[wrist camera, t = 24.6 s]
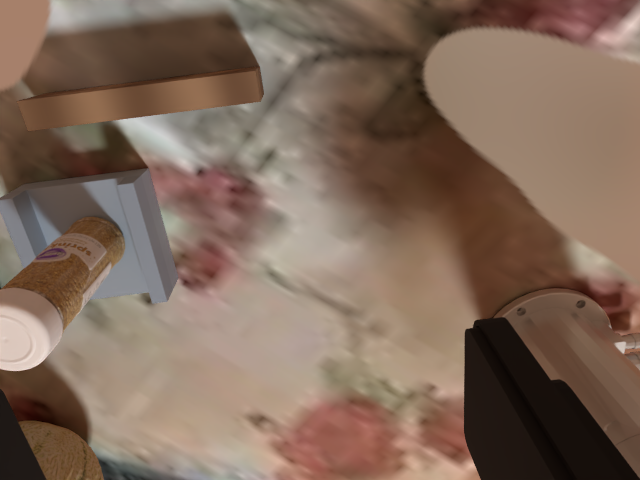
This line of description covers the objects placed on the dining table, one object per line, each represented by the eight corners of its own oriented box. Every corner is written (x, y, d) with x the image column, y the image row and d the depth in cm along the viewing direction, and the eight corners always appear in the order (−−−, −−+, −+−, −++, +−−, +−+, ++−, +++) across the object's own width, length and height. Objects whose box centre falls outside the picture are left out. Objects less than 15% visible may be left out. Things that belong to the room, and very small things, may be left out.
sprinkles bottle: (110, 207, 37) (19, 293, 25) (137, 257, 39) (64, 361, 27) (56, 225, 38) (-59, 319, 25) (85, 274, 40) (-9, 383, 27)
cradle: (148, 168, 38) (133, 183, 35) (178, 277, 42) (167, 301, 39) (24, 183, 38) (-5, 200, 35) (65, 291, 42) (44, 317, 39)
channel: (236, -77, 32) (229, -91, 28) (264, 93, 36) (260, 101, 33) (-2, -47, 32) (-41, -56, 28) (54, 120, 36) (27, 131, 33)
